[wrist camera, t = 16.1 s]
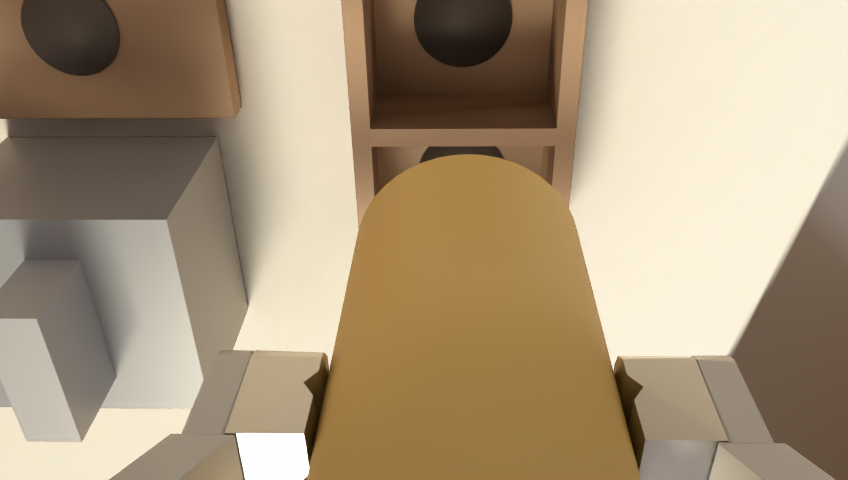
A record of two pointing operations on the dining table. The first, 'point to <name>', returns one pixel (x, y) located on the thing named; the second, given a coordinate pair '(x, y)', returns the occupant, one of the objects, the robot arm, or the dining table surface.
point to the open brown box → (462, 85)
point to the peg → (470, 338)
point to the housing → (112, 276)
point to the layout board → (116, 59)
